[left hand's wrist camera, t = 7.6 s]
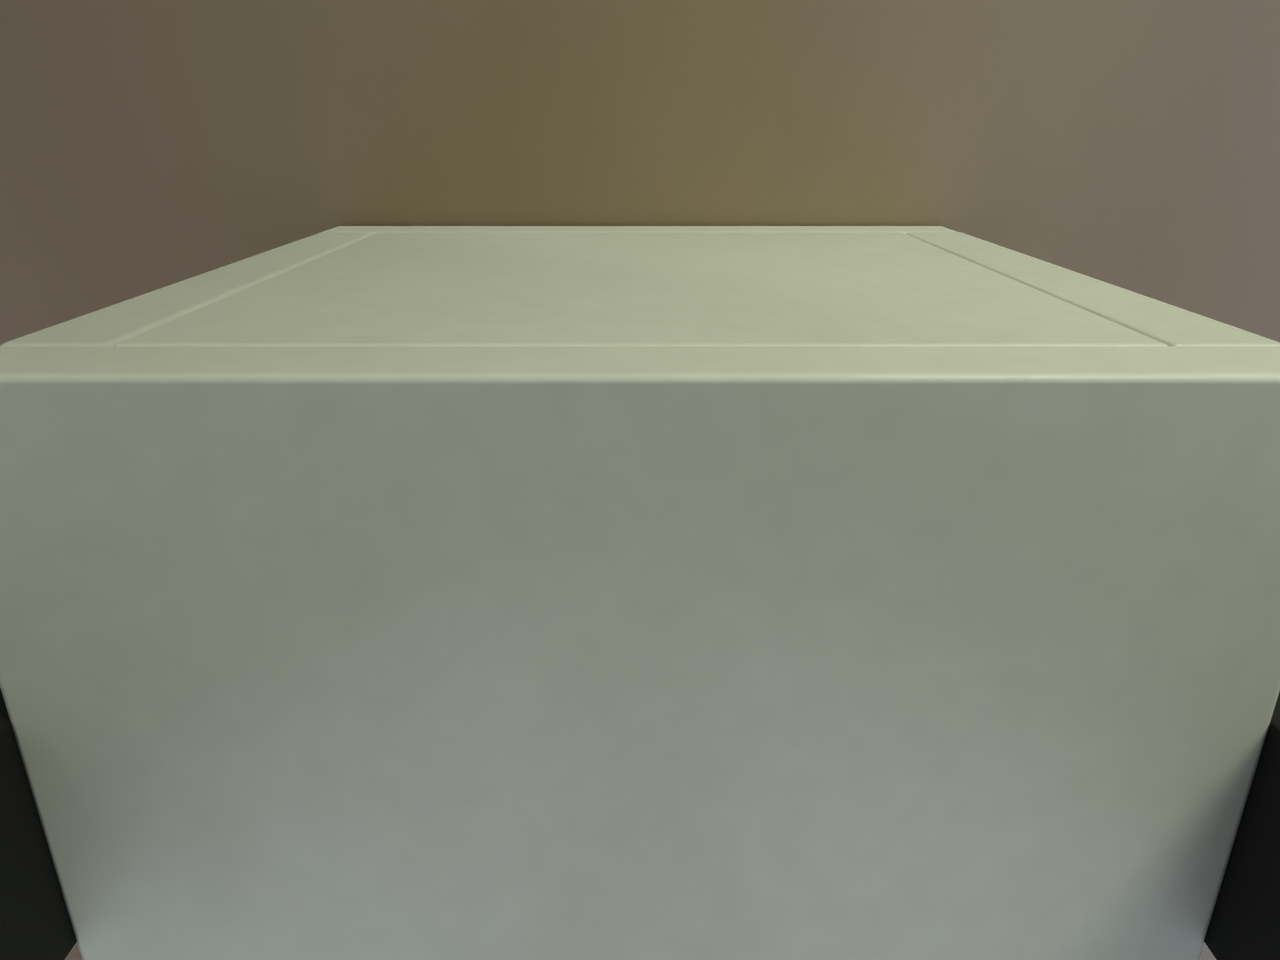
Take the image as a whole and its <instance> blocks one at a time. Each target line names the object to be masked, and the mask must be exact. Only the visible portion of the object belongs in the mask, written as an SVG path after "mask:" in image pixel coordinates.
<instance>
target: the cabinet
mask: <svg viewBox="0 0 1280 960" xmlns="http://www.w3.org/2000/svg"><path fill="white" fill-rule="evenodd" d="M0 688H1V691H2V695H3V698H4V701H5V704H6V708H7V711H8V714H9V718H10V721H11V724H12V728H13V731H14V734H15V738H16V741H17V744H18V748H19V751H20V754H21V758H22V761H23V764H24V767H25V771H26V774H27V777H28V781H29V784H30V787H31V791H32V794H33V797H34V801H35V804H36V807H37V811H38V814H39V817H40V821H41V824H42V827H43V831H44V834H45V837H46V840H47V844H48V847H49V850H50V854H51V857H52V860H53V864H54V867H55V870H56V874H57V877H58V880H59V884H60V887H61V890H62V894H63V897H64V900H65V903H66V907H67V910H68V913H69V917H70V920H71V923H72V927H73V930H74V933H75V937H76V940H77V943H78V947H79V950H80V953H81V957H82V960H1198V959H1199V956H1200V953H1201V950H1202V946H1203V943H1204V940H1205V936H1206V933H1207V930H1208V926H1209V923H1210V920H1211V916H1212V913H1213V910H1214V907H1215V903H1216V900H1217V897H1218V893H1219V890H1220V887H1221V883H1222V880H1223V877H1224V873H1225V870H1226V867H1227V863H1228V860H1229V857H1230V854H1231V850H1232V847H1233V844H1234V840H1235V837H1236V834H1237V830H1238V827H1239V824H1240V820H1241V817H1242V814H1243V811H1244V807H1245V804H1246V801H1247V797H1248V794H1249V791H1250V787H1251V784H1252V781H1253V777H1254V774H1255V771H1256V767H1257V764H1258V761H1259V758H1260V754H1261V751H1262V748H1263V744H1264V741H1265V738H1266V734H1267V731H1268V728H1269V724H1270V721H1271V718H1272V715H1273V711H1274V708H1275V705H1276V701H1277V698H1278V695H1279V691H1280V342H1277V341H1274V340H1271V339H1268V338H1265V337H1262V336H1259V335H1256V334H1254V333H1251V332H1248V331H1245V330H1242V329H1239V328H1236V327H1233V326H1230V325H1228V324H1225V323H1222V322H1219V321H1216V320H1213V319H1210V318H1207V317H1204V316H1202V315H1199V314H1196V313H1193V312H1190V311H1187V310H1184V309H1181V308H1178V307H1175V306H1173V305H1170V304H1167V303H1164V302H1161V301H1158V300H1155V299H1152V298H1149V297H1147V296H1144V295H1141V294H1138V293H1135V292H1132V291H1129V290H1126V289H1123V288H1120V287H1118V286H1115V285H1112V284H1109V283H1106V282H1103V281H1100V280H1097V279H1094V278H1092V277H1089V276H1086V275H1083V274H1080V273H1077V272H1074V271H1071V270H1068V269H1066V268H1063V267H1060V266H1057V265H1054V264H1051V263H1048V262H1045V261H1042V260H1039V259H1037V258H1034V257H1031V256H1028V255H1025V254H1022V253H1019V252H1016V251H1013V250H1011V249H1008V248H1005V247H1002V246H999V245H996V244H993V243H990V242H987V241H985V240H982V239H979V238H976V237H973V236H970V235H967V234H964V233H961V232H957V231H954V230H951V229H948V228H945V227H942V226H338V227H335V228H332V229H329V230H326V231H324V232H321V233H318V234H315V235H312V236H309V237H307V238H304V239H301V240H298V241H295V242H292V243H289V244H286V245H284V246H281V247H278V248H275V249H272V250H269V251H266V252H264V253H261V254H258V255H255V256H252V257H249V258H246V259H244V260H241V261H238V262H235V263H232V264H229V265H226V266H223V267H221V268H218V269H215V270H212V271H209V272H206V273H203V274H201V275H198V276H195V277H192V278H189V279H186V280H183V281H181V282H178V283H175V284H172V285H169V286H166V287H163V288H160V289H158V290H155V291H152V292H149V293H146V294H143V295H140V296H138V297H135V298H132V299H129V300H126V301H123V302H120V303H118V304H115V305H112V306H109V307H106V308H103V309H100V310H97V311H95V312H92V313H89V314H86V315H83V316H80V317H77V318H75V319H72V320H69V321H66V322H63V323H60V324H57V325H54V326H52V327H49V328H46V329H43V330H40V331H37V332H34V333H32V334H29V335H26V336H23V337H20V338H17V339H14V340H12V341H9V342H6V343H4V344H2V345H0Z"/></svg>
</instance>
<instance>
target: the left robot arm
mask: <svg viewBox="0 0 1280 960" xmlns="http://www.w3.org/2000/svg"><path fill="white" fill-rule="evenodd" d="M76 942H77V940H76V937H75V933H74V930H73V927H72V923H71V920H70V917H69V913H68V910H67V907H66V903H65V900H64V897H63V894H62V890H61V887H60V884H59V880H58V877H57V874H56V870H55V867H54V864H53V860H52V857H51V854H50V850H49V847H48V844H47V840H46V837H45V834H44V831H43V827H42V824H41V821H40V817H39V814H38V811H37V807H36V804H35V801H34V797H33V794H32V791H31V787H30V784H29V781H28V777H27V774H26V771H25V767H24V764H23V761H22V758H21V754H20V751H19V748H18V744H17V741H16V738H15V734H14V731H13V728H12V724H11V721H10V718H9V714H8V711H7V708H6V704H5V701H4V698H3V695H2V691H1V688H0V960H64V959H65V958H66V956H67V955H68V953H69V952H70V950H71V949H72V948H73V946H74V945H75V943H76ZM1204 942H1205V943H1206V945H1207V946H1208V948H1209V949H1210V950H1211V952H1212V953H1213V955H1214V956H1215V958H1216V959H1217V960H1280V691H1279V695H1278V698H1277V701H1276V705H1275V708H1274V711H1273V715H1272V718H1271V721H1270V724H1269V728H1268V731H1267V734H1266V738H1265V741H1264V744H1263V748H1262V751H1261V754H1260V758H1259V761H1258V764H1257V767H1256V771H1255V774H1254V777H1253V781H1252V784H1251V787H1250V791H1249V794H1248V797H1247V801H1246V804H1245V807H1244V811H1243V814H1242V817H1241V820H1240V824H1239V827H1238V830H1237V834H1236V837H1235V840H1234V844H1233V847H1232V850H1231V854H1230V857H1229V860H1228V863H1227V867H1226V870H1225V873H1224V877H1223V880H1222V883H1221V887H1220V890H1219V893H1218V897H1217V900H1216V903H1215V907H1214V910H1213V913H1212V916H1211V920H1210V923H1209V926H1208V930H1207V933H1206V936H1205V940H1204Z"/></svg>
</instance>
